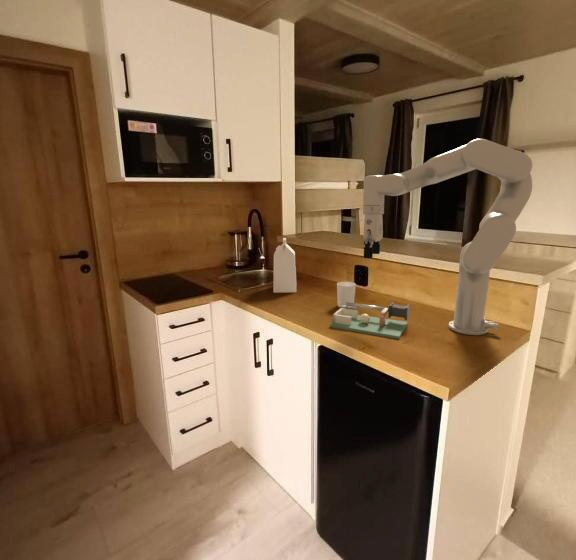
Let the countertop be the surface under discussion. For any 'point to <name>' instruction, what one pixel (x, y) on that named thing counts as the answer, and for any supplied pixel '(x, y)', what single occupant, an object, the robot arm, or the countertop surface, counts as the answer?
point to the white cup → (345, 293)
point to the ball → (364, 318)
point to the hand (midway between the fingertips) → (371, 255)
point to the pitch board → (373, 326)
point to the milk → (284, 269)
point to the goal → (345, 316)
